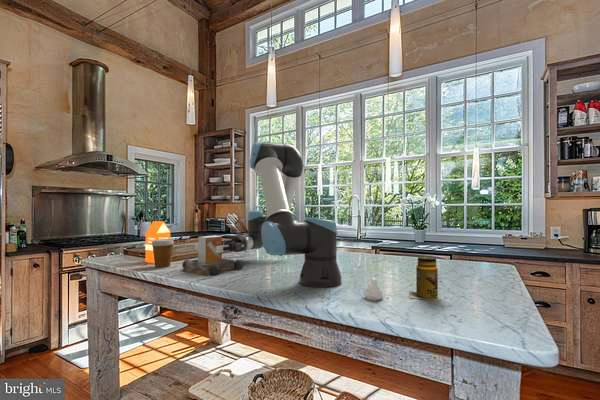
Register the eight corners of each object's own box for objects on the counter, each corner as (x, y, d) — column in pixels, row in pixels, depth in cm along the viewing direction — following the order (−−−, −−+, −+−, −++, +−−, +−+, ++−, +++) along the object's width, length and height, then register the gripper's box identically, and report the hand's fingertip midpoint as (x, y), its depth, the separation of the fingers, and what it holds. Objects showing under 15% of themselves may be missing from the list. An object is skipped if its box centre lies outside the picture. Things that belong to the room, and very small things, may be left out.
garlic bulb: (384, 280, 90) (366, 280, 90) (385, 300, 90) (366, 301, 90) (379, 276, 96) (361, 276, 95) (379, 295, 95) (361, 295, 95)
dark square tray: (245, 268, 136) (245, 259, 136) (211, 276, 120) (211, 266, 121) (215, 263, 147) (215, 255, 148) (180, 270, 132) (180, 260, 132)
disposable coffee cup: (168, 268, 135) (168, 241, 136) (146, 268, 135) (147, 241, 136) (177, 264, 145) (177, 239, 145) (157, 264, 145) (157, 239, 145)
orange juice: (156, 263, 147) (156, 221, 148) (145, 261, 152) (145, 221, 152) (170, 261, 154) (170, 221, 154) (159, 259, 159) (159, 220, 159)
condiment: (440, 301, 89) (440, 260, 90) (409, 298, 92) (409, 258, 92) (437, 294, 96) (437, 256, 97) (408, 292, 99) (408, 254, 99)
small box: (205, 269, 127) (205, 237, 128) (197, 266, 132) (197, 236, 132) (222, 266, 133) (222, 236, 133) (214, 264, 138) (214, 235, 138)
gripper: (260, 253, 141) (225, 260, 124) (223, 249, 155) (187, 254, 138) (261, 237, 141) (225, 241, 124) (223, 234, 155) (187, 237, 138)
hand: (205, 248), depth 131 cm, fingers open, 13 cm apart
